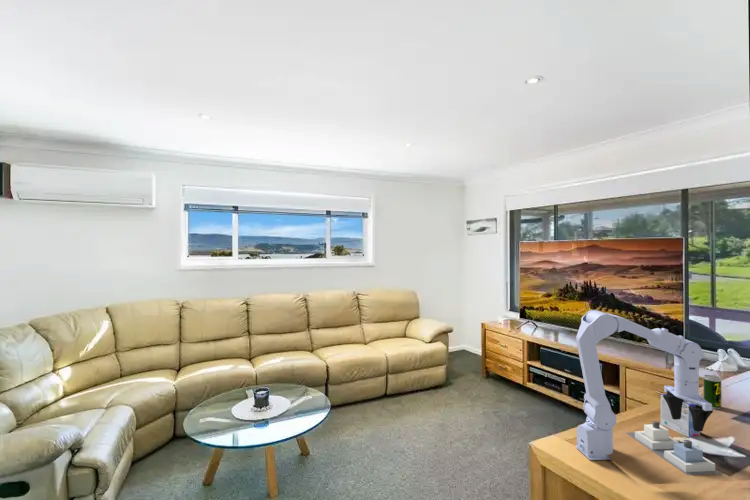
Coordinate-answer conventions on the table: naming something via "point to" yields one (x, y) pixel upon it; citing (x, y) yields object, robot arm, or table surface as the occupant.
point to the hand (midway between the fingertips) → (686, 424)
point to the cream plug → (656, 432)
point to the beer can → (712, 390)
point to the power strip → (667, 453)
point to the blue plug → (688, 452)
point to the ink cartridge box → (681, 424)
